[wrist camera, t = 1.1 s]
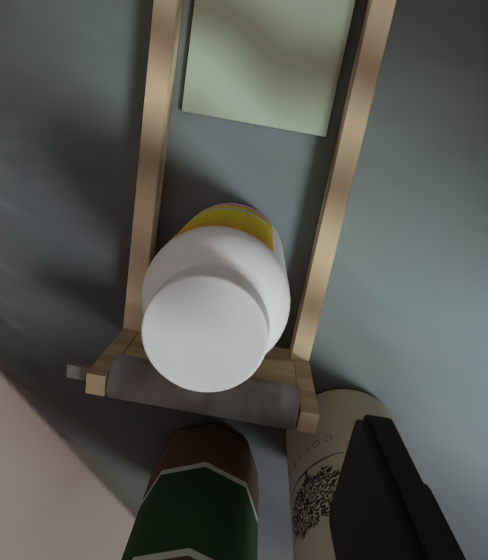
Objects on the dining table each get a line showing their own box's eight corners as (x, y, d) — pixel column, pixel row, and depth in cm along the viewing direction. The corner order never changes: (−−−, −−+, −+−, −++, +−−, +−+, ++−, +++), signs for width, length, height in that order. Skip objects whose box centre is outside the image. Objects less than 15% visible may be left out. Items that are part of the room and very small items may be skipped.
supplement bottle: (164, 223, 27) (80, 282, 15) (261, 185, 26) (257, 216, 14) (204, 314, 29) (158, 435, 17) (296, 282, 28) (321, 386, 16)
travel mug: (416, 443, 31) (605, 809, 14) (327, 495, 33) (395, 877, 15) (353, 366, 29) (478, 669, 12) (263, 424, 31) (260, 763, 14)
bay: (146, -126, 22) (89, -259, 15) (409, -78, 22) (477, -188, 15) (108, 339, 30) (58, 398, 23) (301, 373, 30) (312, 443, 23)
